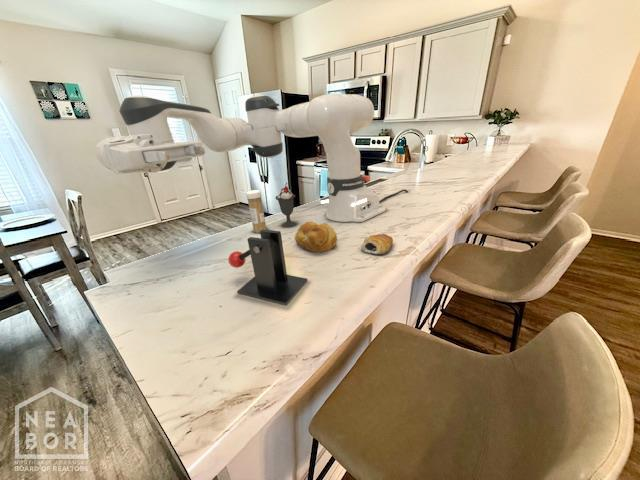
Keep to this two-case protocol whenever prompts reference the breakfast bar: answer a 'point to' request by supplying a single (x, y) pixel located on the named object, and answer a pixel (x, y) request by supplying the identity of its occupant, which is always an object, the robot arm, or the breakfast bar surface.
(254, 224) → the sprinkles bottle
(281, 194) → the sundae
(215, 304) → the breakfast bar surface
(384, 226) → the breakfast bar surface
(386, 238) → the pastry
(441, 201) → the breakfast bar surface
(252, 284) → the switch base
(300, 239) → the bread roll
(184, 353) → the breakfast bar surface
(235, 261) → the switch lever
